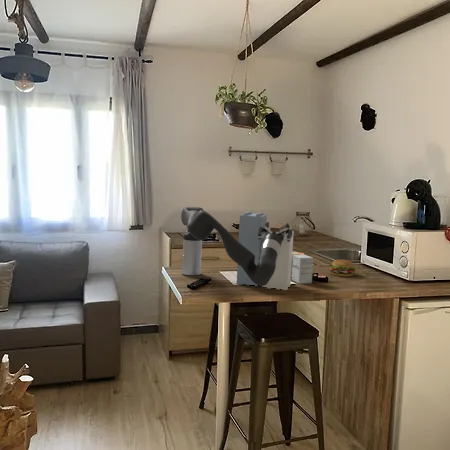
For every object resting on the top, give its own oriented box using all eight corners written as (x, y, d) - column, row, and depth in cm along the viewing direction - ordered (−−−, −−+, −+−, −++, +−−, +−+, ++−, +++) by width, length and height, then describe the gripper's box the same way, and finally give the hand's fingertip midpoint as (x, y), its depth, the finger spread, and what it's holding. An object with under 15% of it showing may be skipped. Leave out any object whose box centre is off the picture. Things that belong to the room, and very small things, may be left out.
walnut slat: (279, 235, 203) (279, 228, 203) (269, 234, 204) (270, 227, 204) (287, 229, 226) (287, 223, 226) (279, 228, 227) (279, 222, 227)
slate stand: (257, 286, 218) (261, 214, 214) (236, 284, 221) (239, 213, 217) (263, 280, 230) (267, 212, 227) (243, 278, 233) (246, 211, 229)
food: (358, 278, 245) (359, 263, 244) (330, 276, 247) (331, 261, 247) (354, 273, 259) (356, 258, 258) (328, 271, 261) (329, 256, 260)
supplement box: (291, 280, 234) (292, 254, 232) (304, 279, 236) (306, 254, 235) (298, 283, 227) (300, 257, 225) (312, 283, 229) (313, 257, 228)
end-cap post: (286, 290, 213) (290, 231, 210) (262, 287, 216) (265, 229, 213) (290, 284, 224) (293, 228, 221) (267, 282, 227) (270, 227, 224)
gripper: (254, 252, 202) (262, 229, 214) (288, 255, 198) (294, 232, 210) (253, 238, 197) (261, 216, 210) (288, 241, 194) (293, 218, 206)
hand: (277, 224), depth 210 cm, fingers open, 8 cm apart
